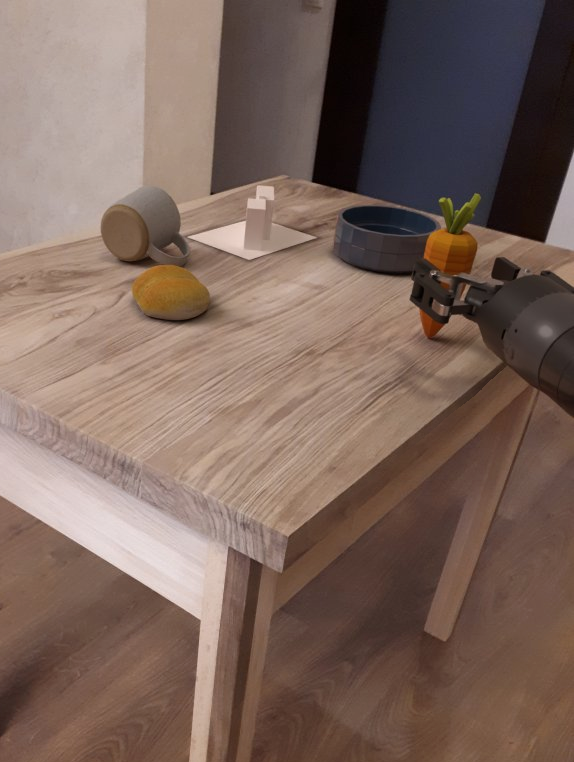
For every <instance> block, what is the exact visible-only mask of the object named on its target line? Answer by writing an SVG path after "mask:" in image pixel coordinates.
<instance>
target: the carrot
mask: <svg viewBox="0 0 574 762" xmlns="http://www.w3.org/2000/svg"><path fill="white" fill-rule="evenodd" d="M481 199H482V197H481V194H479V193H476V192H475V193H474V195H473V196H472V198H471V199H470V201H468V202H465V203H464V205H463V206H462V207H461V208H460V210H459V209H457V210H455V211H454V204H453V202H452V200H451V198H450V197H448V198H446V197H441V198H440V199H439V200H438V205H439V207H440V209H441V212H442V216H443V219H444V222H445V226H446V227H443V228H441V229H440V230H437V231H434V232H433V233H432V234H430V236H429V237H428V240H427V243H426V248H425V253H424V258H425V259H427V260H428V261H429V262H431V263H432V264H433V265H434V266H436V267H437V268H438V269H439V270H441V272H444V273H447V274H450V275H454V276H455V275H456V274H458V273H460V272H463V273H466V274H469V275H471V272H472V269H473V265H474V262H475V259H476V255H477V252H478V241H477V240H476V238H475V237H474V236H473V235H472V233H470V232H469V231H466V230H463V229H464V228H465V227H466V226H467V225H468V224H469V223H470V222H471V221H472V219H474V217H475V216H476V215H475V214H474V212H475V211H476V209H477V208H478V206H479V203H480V202H481ZM441 286H443V287H444V288H445V289H447V290H449V284H447V283H444V282H441ZM466 287H467V284H464V283H463V286H462V290H461V294H460V297H459V300H461V298H462V296H463V295H464V292H465V289H466ZM418 309H419V316H420V322H421V326H422V329H423V334H424V335H425V336H426V337H427V339H431V338H433V337H435V336H437V335H438V333H439V332H440V331H441V330H442V329H443V328H444V327H445V326H446V324H440V323H437V322H436V321H434V320H433V319H432V318H431V317H430V316H428V315H427V314H426V313H425V312H423V311H422V310H421V309H420V308H418ZM451 317H452V315H450V318H451Z"/></svg>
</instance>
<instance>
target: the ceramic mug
mask: <svg viewBox="0 0 574 762" xmlns="http://www.w3.org/2000/svg"><path fill="white" fill-rule="evenodd" d="M180 230H181V214H180V211H179V208H178V206H177V204H176V202H175V201H174V199H173V198H172V196H171V195H170V194H169V193H168V192H167V191H165V190H164V189H162V188H161V187H158V186H155V185H143V186H140V187H139V188H137V189H135V190H134V191H132V192H131V193H128V194H127V195H125V196H124V197H122V198H120V199H118V200H117V201H115V202H113V203H112V204H111V205H110V206H109V207H107V209H106V210H105V212H104V213H103V215H102V217H101V220H100V236H101V239H102V241H103V244H104V246H105V247H106V248H107V250H108V251H109V252H110V254H111V255H113V256H114V257H116V258H117V259H118V260H121V261H125V262H136V261H141V260H144V259H145V258H147V257H150V258H151V259H152V261H155V262H157V263H158V264H159V265H175V266H178V267H182V266H183V265H185V264H186V263H187V261H188V259H189V257H190V255H191V247H190V245H189V243H188V241H187V240H186V239H185V238H184V236H183V235H182V234H181V233H180ZM172 244H174V246H176V247H177V248H178V249H179V251H180V252H181V253H182V256H173V255H170V254H167V253H165V252H163V251H162V250H164V249H165V248H167V247H169V246H171V245H172Z"/></svg>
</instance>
